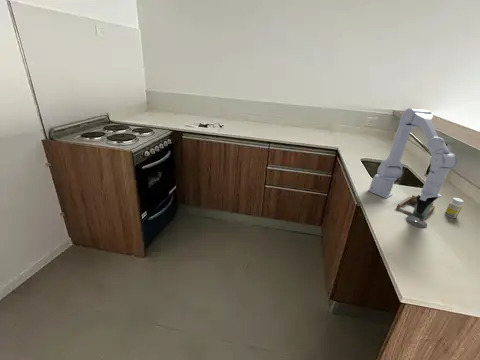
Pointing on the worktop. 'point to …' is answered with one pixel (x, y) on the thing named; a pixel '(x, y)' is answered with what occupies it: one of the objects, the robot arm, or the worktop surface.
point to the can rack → (413, 201)
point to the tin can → (425, 213)
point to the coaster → (416, 222)
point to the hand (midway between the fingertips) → (421, 211)
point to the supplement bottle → (454, 207)
